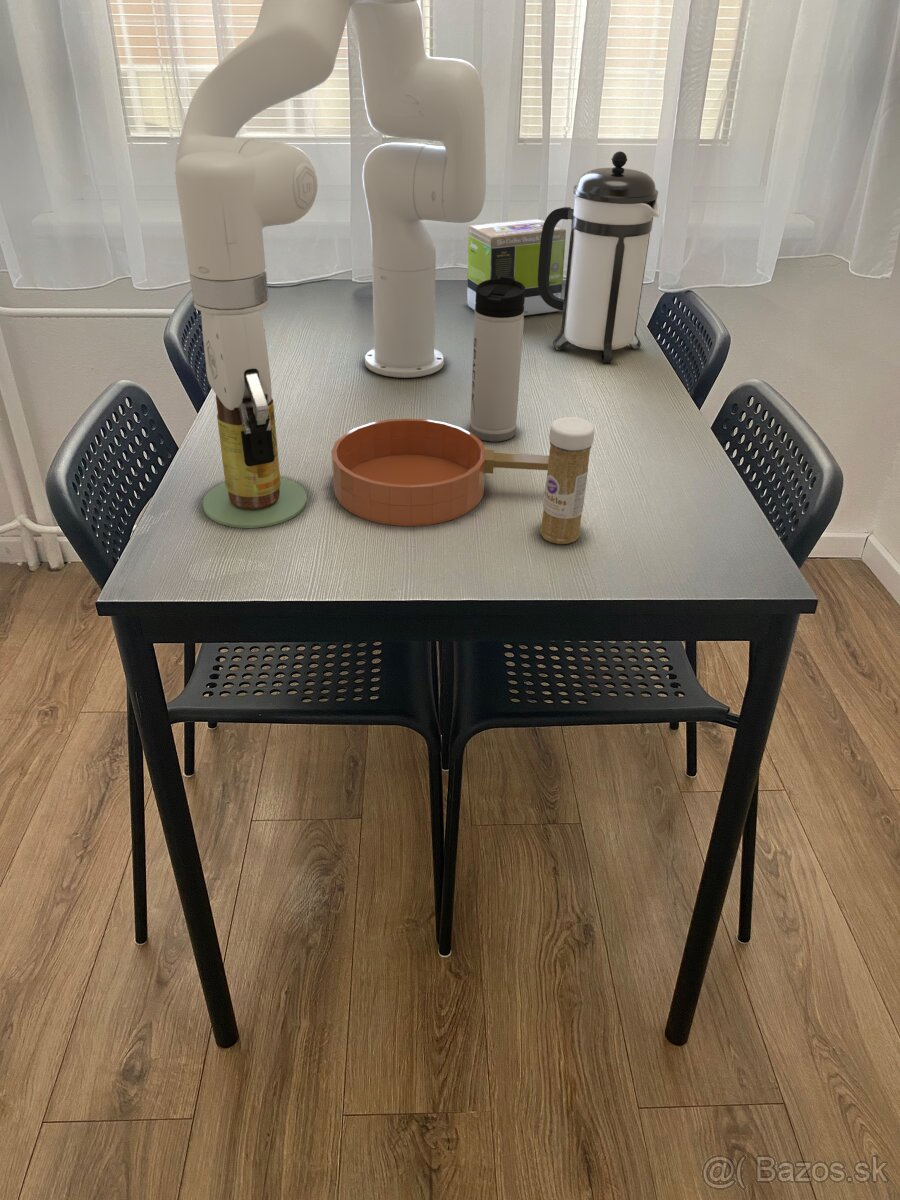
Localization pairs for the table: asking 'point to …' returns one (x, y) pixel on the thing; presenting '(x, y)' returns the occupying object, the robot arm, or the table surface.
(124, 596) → the table surface
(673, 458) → the table surface
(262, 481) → the sauce bottle
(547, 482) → the sprinkles bottle
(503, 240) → the tea box
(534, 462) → the pan handle
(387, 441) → the pan
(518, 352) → the travel mug
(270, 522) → the trivet
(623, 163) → the coffee press
